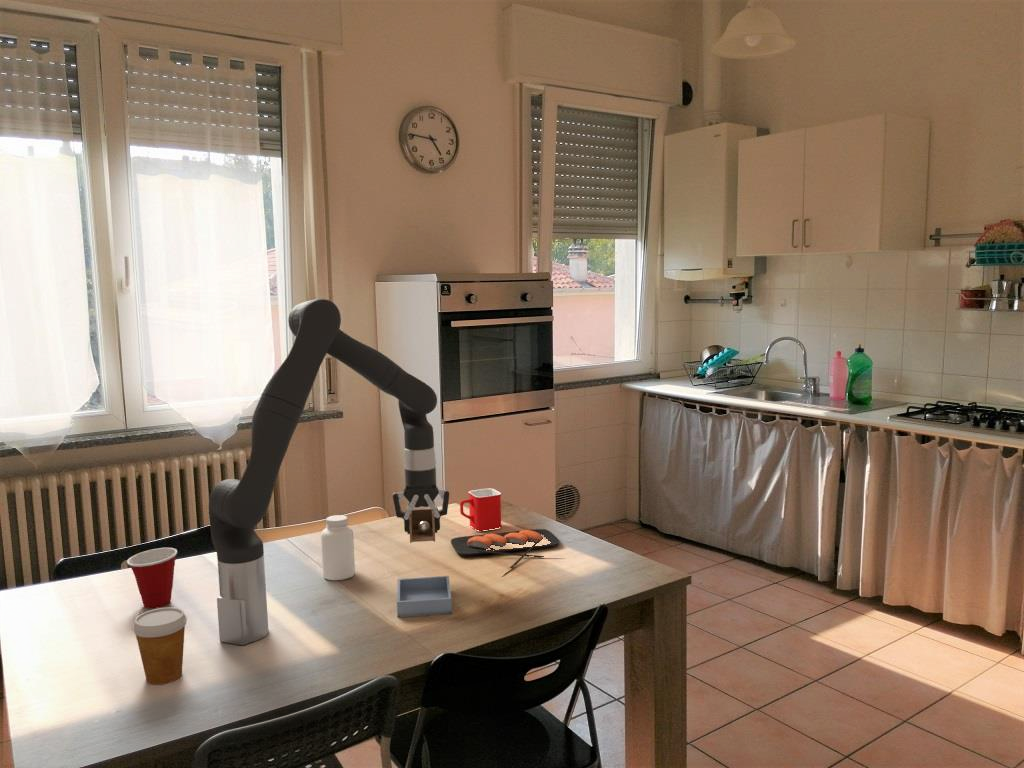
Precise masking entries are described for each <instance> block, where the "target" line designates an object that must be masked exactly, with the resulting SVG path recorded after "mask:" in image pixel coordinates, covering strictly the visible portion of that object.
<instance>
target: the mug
mask: <svg viewBox="0 0 1024 768" xmlns="http://www.w3.org/2000/svg"><path fill="white" fill-rule="evenodd" d="M467 493H468V497H469V498H468V499H463V500H461V501H460V502H459V511H460V514H461V516H462V517H464V518H466V519H468V520H469V527H470V526H472V527H473V528H474V529H476V530H479V531H483V530H489V529H495V528H499V527H501V528H502V493H501V492H500V491H498V490H496V489H495V488H490V487H489V488H479V489H473V490H469V491H468V492H467ZM465 503H468V507H469V515H468V514H466V513H465V512H464V504H465ZM474 529H473V530H474Z"/></svg>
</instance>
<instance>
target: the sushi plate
mask: <svg viewBox="0 0 1024 768" xmlns="http://www.w3.org/2000/svg"><path fill="white" fill-rule="evenodd" d="M541 534H542V535H544V537H546V539H548V541H550V542H551V543H550V544H547V545H542V546H535V545H536V544H537V543H539V542H540V541H541V540H542V539H543V537H542V536H541ZM527 541H528V542H534V543H535V544H534V545H533V546H532V547H523V548H513V549H499V550H495V549H493V548H490V546H491V545H495V546H500V547H503V546H505V545H506V543H512V544H519V545H524V544H526V542H527ZM560 542H561V541H560V540H559V538H558V537H557V536H556V535H555V534H554V533H553V532H551V531H550V530H548V529H545V528H538V529H537V528H536V529H535V528H534V529H524V530H516V531H515V530H514V531H513V530H512V531H506V532H505V531H504V532H496V533H495V532H494V533H487V534H484V533H483V534H475V535H467V536H465V535H463V536H458V537H453V538H451V539H450V544H451V546H452V548H453V549H454V551H455V552H456V554H458V555H461V556H473V555H474V556H475V555H484V554H485V555H486V554H498V555H506V556H507V555H509V556H518V557H519V558H518V559H517V560H516V561H515V562H514V563H513V564H512V565H511V566H509V568H512V567H513V566H514V565H516V566H517V565H518V563H520V561H522V559H523V558H525V557H526V556H527V558H530V557H529V556H534V557H533V558H535V557H544V556H545V555H535V554H528V553H529V552H530V551H531V550H533V549H539V548H548V547H555V546H559V545H560ZM488 548H490V549H491V550H487V551H486V549H488ZM493 550H494V551H493ZM520 550H522V551H523V550H527V551H525V553H521V554H520V553H512V552H513V551H520ZM508 552H511V553H508Z"/></svg>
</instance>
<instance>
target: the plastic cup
mask: <svg viewBox="0 0 1024 768" xmlns="http://www.w3.org/2000/svg"><path fill="white" fill-rule="evenodd" d="M177 555H178V550H177V548H173V547H159V548H154V549H153V548H152V549H148V550H145V551H142V552H141V551H140V552H139V553H136V554H134V555H132V556H131V557H129V558H128V559H127V560H126V562H127V565H128V566H129V567H130V568H131V570H132V573H133V575H134V578H135V581H136V585H137V588H138V592H139V595H140V596H141V601H142V604H143V606H144V608H145V609H148V610H149V609H150V610H154V609H158V608H165V607H167V606H168V605H169V604H170V603H171V600H172V592H173V587H174V585H173V584H174V575H175V565H176V557H177Z"/></svg>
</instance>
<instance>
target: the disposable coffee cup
mask: <svg viewBox="0 0 1024 768" xmlns="http://www.w3.org/2000/svg"><path fill="white" fill-rule="evenodd" d="M133 621H134V622H133V625H132V627H131V629H132V631H133V633H134V634H135V638H136V640H137V645H138V650H139V655H140V658H141V662H142V666H143V667H142V668H143V671H144V676H145V680H146V682H147V684H151V685H164V684H168V683H171V682H174V681H176V680H178V679H179V678H181V677H182V675H183V662H184V661H183V660H184V648H185V647H184V645H185V644H184V643H185V627H186V624H187V621H188V617H187V616H186V614H185V612H184V610H183V609H181V608H178V607H172V606H171V607H167V606H166V607H160V608H154V609H150V610H147V611H144V612H143V613H141V614H139V615H138V616H136V617H135V619H134V620H133Z"/></svg>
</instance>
